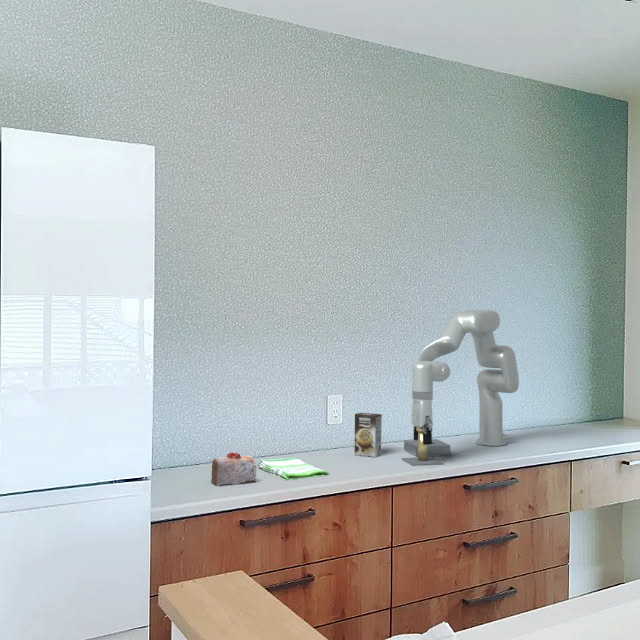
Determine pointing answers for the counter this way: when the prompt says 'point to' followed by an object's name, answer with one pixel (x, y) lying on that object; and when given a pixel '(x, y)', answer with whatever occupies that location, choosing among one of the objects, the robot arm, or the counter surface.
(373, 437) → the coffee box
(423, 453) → the brass flanged peg
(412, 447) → the block
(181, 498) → the counter surface
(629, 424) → the counter surface
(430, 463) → the mat
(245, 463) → the food item
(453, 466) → the counter surface
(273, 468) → the dish towel
